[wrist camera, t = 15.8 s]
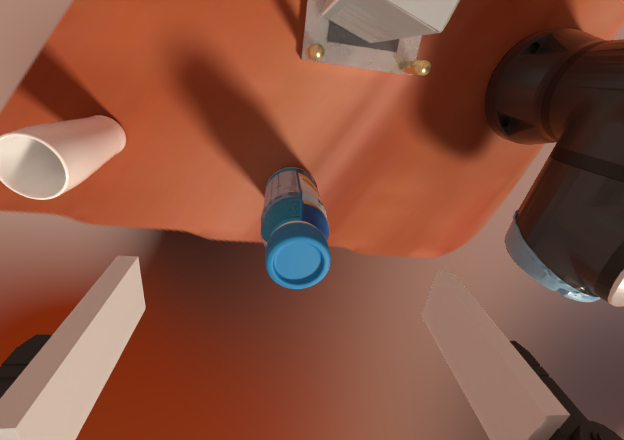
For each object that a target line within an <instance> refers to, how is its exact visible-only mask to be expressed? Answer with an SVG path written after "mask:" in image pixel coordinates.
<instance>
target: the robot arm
mask: <svg viewBox="0 0 624 440" xmlns="http://www.w3.org/2000/svg"><path fill="white" fill-rule="evenodd" d="M485 109H486V115H487V119H488V122H489V124H490V126H491V127H492V129H493V130H494V131H495V132H496V133H497V134H498V135H499V136H501V137H502V138H504V139H507V140H509V141H512V142H515V143H519V144H526V145H533V144H543V143H554V142H557V143H556V146H555V147H554V149H553V151H552V152H551V154H550V156H549V157H548V159H547V161H546V162H545V164H544V166H543V168H542V170H541V171H540V173H539V175H538V177H537V178H536V180H535V182H534V183H533V185H532V187H531V189H530V190H529V192H528V194H527V196H526V197H525V199H524V201H523V203H522V204H521V206H520V208H519V209H518V210H517V211H516V212H515V214H514V216H513V221H512V223H511V225H510V228H509V230H508V232H507V234H506V236H505V244H506V249H507V251H508V253H509V255H510V256H511V258H512V259H513V260H514V262H515V263H516V264H517V265H518V266H519V267H520V268H521V269H522V270H524V271H525V272H526V273H527V274H528V275H529V276H531V277H532V278H533V279H535V280H536V281H537V282H539V283H540V284H542V285H544V286H545V287H547V288H549V289H551V290H553V291H555V290H557V291H558V292H560V293H561V294H562V295H563V296H565V297H568V298H570V299H573V300H577V301H581V302H593V301H595V300H599V299H601V298H602V299H603V300H605V301H607V302H608V303H610V304H612V305H614V306H624V40H610V41H605V40H603V39H600V38H598V37H595V36H593V35H591V34H588V33H586V32H583V31H581V30H577V29H572V28H558V29H549V30H544V31H540V32H537V33H534V34H532V35H530V36H528V37H526V38H525V39H523V40H522V41H520V42H519V43H518V44H516V45H515V46H514V47H513V48H512V49H511V50H510V51H509V52H508V53H507V54H506V55H505V56H504V58H503V59H502V60H501V62H500V63H499V64H498V66H497V68H496V69H495V71H494V73H493V75H492V77H491V80H490V82H489V85H488V89H487V93H486V101H485ZM144 310H145V301H144V294H143V287H142V281H141V274H140V267H139V260H138V257H132V256H117V257H116V259H115V260H114V261H113V262H112V263H111V265H110V266H109V267H108V268H107V270H106V271H105V272H104V273H103V274H102V276H101V277H100V278H99V279H98V280H97V282H96V283H95V284H94V285H93V287H92V288H91V289H90V290H89V291H88V293H87V294H86V295H85V296H84V298H83V299H82V300H81V301H80V302H79V304H78V305H77V306H76V307H75V308H74V310H73V311H72V312H71V314H69V316H68V317H67V318H66V319H65V321H64V322H63V323H62V324H61V325H60V327H59V328H58V329H57V330H56V332H55V333H54V334H53V335H35V336H34V337H32V338H31V339H29V340H28V341H26V342H25V343H23V344H22V345H20V346H19V347H17V348H16V349H15V350H14V351H13V352H12V353H11V355H10V356H9V357H8V358H7V359H6V360H5V361H4V362H3V363H2V366H1V367H0V440H75V439H76V437H77V435H78V434H79V432H80V430H81V428H82V426H83V424H84V422H85V420H86V419H87V417H88V415H89V413H90V411H91V409H92V407H93V405H94V404H95V402H96V400H97V398H98V396H99V394H100V393H101V390H102V389H103V387H104V385H105V383H106V381H107V379H108V378H109V376H110V374H111V372H112V370H113V368H114V366H115V365H116V363H117V361H118V359H119V357H120V355H121V353H122V351H123V349H124V348H125V346H126V344H127V342H128V340H129V338H130V337H131V335H132V333H133V331H134V329H135V327H136V325H137V323H138V321H139V320H140V318H141V316H142V314H143V312H144ZM421 317H422V319H423V320H424V322H425V324H426V326H427V328H428V329H429V331H430V333H431V335H432V336H433V338H434V340H435V342H436V344H437V345H438V347H439V349H440V351H441V353H442V354H443V356H444V358H445V360H446V362H447V363H448V365H449V367H450V369H451V370H452V372H453V374H454V376H455V377H456V379H457V381H458V383H459V385H460V386H461V388H462V390H463V392H464V394H465V395H466V397H467V399H468V401H469V403H470V404H471V406H472V408H473V410H474V412H475V413H476V415H477V417H478V419H479V420H480V422H481V424H482V426H483V428H484V430H485V431H486V433H487V434H488V437H489V438H490V440H623V439H622V438H621V437H619V436H618V435H617V434H616V433H615V432H613V431H612V430H610V429H609V428H607V427H605V426H604V425H602V424H599V423H597V422H594V421H588V420H587V418H586V417H585V416H584V415H583V414H582V413H581V412H580V411H579V410H578V408H577V407H576V406H575V405H574V404H573V402H572V401H571V400H570V399H569V398H568V397H567V395H566V394H565V393H564V392H563V391H562V390H561V389H560V387H559V386H558V385H557V384H556V383H555V381H554V380H553V379H552V378H550V377H549V374H548V373H547V372H546V371H545V370H544V369H543V368H542V367H540V364H539V363H538V362H537V361H536V359H535V358H534V357H533V356H532V355H531V354H530V352H528V351H527V350H526V349H525V348H523V347H522V346H521V345H520V344H518V343H517V342H516V341H509V340H508V339H507V338H506V336H505V335H504V334H503V333H502V332H501V330H500V329H499V328H498V327H497V325H495V323H494V322H493V321H492V320H491V318H490V317H489V316H488V315H487V313H486V312H485V311H484V310H483V308H481V306H480V305H479V304H478V303H477V301H476V300H475V299H474V298H473V296H472V295H471V294H470V293H469V292H468V290H467V289H466V288H465V287H464V285H463V284H462V283H461V282H460V281H459V279H458V278H457V277H456V276H455V275H454V273H453V272H437V275H436V277H435V280H434V282H433V285H432V288H431V290H430V293H429V296H428V298H427V301H426V304H425V306H424V309H423V312H422V314H421Z"/></svg>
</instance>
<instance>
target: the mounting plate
mask: <svg viewBox="0 0 624 440" xmlns="http://www.w3.org/2000/svg"><path fill="white" fill-rule="evenodd" d="M325 2H326V0H307V6H306V16H305V26H304V36H303V46H302V56H301V60H307V61H314V62H321V63H328V64H335V65H342V66H349V67H356V68H362V69H369V70H376V71H383V72H390V73H397V74H404V75H411V76H412V74H413V75H427V74H428V73H429V72H430V70H431V64H430V62H429V61H427V60H416V58H417V54H418V50H419V46H420V42H421V38H422V35H421V36H415V37H408V38H401V39H395V40H389V41H381V42H375V43H369V42H367V41H365V40H363V39H362V38H360V37H358V36H356V35H355V34H353V33H351V32H349V31H348V30H346V29H344V28H342V27H341V26H339V25H337V24H336V23H334V22H332V21H331V20H329V19H327V18H325V17H324V16H322V15H321V12H322V9H323V7H324V4H325Z"/></svg>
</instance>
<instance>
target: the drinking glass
mask: <svg viewBox="0 0 624 440" xmlns="http://www.w3.org/2000/svg"><path fill="white" fill-rule="evenodd" d="M125 144H126V135H125V132H124V130H123V128H122V127H121V126H120V125H119V124H118V123H117V122H116V121H115V120H113V119H112V118H110V117H107V116H103V115H95V116H91V117H87V118H80V119H73V120H66V121H58V122H50V123H43V124H37V125H33V126H29V127H25V128H21V129H18V130H15V131H12V132H9V133H6V134H3V135H1V136H0V181H1V182H2V183H3V184H5V185H6V186H7V187H8V188H10V189H11V190H13V191H14V192H16V193H18V194H20V195H22V196H25V197H28V198H32V199H39V200H45V199H51V198H55V197H57V196H59V195H61V194H63V193H65V192H67V191H69V190H70V189H72V188H74V187H75V186H77V185H78V184H80V183H81V182H83V181H84V180H85V179H87V178H88V177H89V176H90V175H92V174H93V173H94V172H95V171H96V170H97V169H99V168H100V167H101V166H102V165H103V164H105V163H106V162H107V161H108V160H109V159H111V158H112V157H113V156H114V155H116V154H118V153H119V152H121V151H122V150H123V148H124V147H125Z"/></svg>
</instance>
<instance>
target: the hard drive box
mask: <svg viewBox="0 0 624 440" xmlns="http://www.w3.org/2000/svg"><path fill="white" fill-rule="evenodd" d="M459 1H460V0H326V2H325V4H324V7H323V9H322V12H321V15H322V16H324V17H325V18H327V19H329V20H331V21H332V22H334V23H336V24H337V25H339V26H341V27H342V28H344V29H346V30H348V31H349V32H351V33H353V34H355V35H356V36H358V37H360V38H362V39H363V40H365V41H367V42H369V43H375V42H381V41H389V40H395V39H401V38H408V37H415V36H421V35H428V34H434V33H440V32H442V31H443V30H444V28H445V26H446V25H447V23H448V21H449V19H450V18H451V16H452V14H453V12H454V10H455V9H456V7H457V5H458V3H459Z"/></svg>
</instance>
